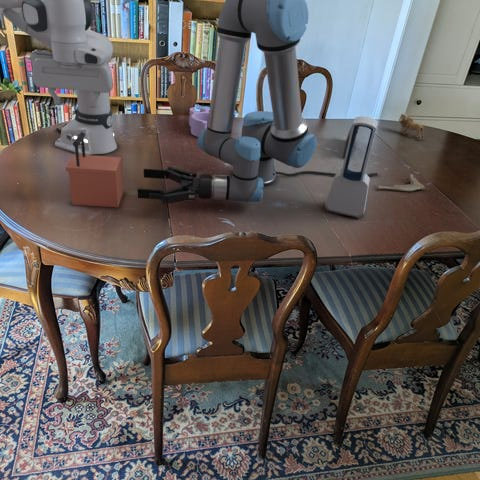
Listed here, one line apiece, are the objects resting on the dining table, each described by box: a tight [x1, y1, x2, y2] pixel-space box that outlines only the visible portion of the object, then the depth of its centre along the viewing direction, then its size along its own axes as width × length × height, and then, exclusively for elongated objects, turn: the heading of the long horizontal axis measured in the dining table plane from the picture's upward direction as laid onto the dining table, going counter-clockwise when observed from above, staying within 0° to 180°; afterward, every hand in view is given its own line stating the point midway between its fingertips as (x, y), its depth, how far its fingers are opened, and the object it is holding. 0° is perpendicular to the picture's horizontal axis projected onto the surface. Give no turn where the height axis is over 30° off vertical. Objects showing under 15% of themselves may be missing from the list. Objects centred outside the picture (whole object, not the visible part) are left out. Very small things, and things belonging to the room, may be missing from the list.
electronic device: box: [324, 115, 379, 219], centre depth 142 cm, size 12×8×30 cm, turn 71°
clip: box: [188, 106, 210, 138], centre depth 199 cm, size 20×12×7 cm, turn 23°
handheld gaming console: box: [342, 123, 360, 159], centre depth 194 cm, size 23×3×10 cm, turn 161°
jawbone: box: [376, 173, 426, 193], centre depth 169 cm, size 9×20×2 cm, turn 126°
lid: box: [65, 132, 123, 175], centre depth 135 cm, size 14×10×9 cm
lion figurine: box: [398, 113, 425, 141], centre depth 218 cm, size 15×5×9 cm, turn 50°
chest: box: [68, 161, 124, 208], centre depth 140 cm, size 13×10×11 cm
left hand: (75, 105), depth 127 cm, fingers open, 8 cm apart
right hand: (140, 182), depth 139 cm, fingers open, 13 cm apart
